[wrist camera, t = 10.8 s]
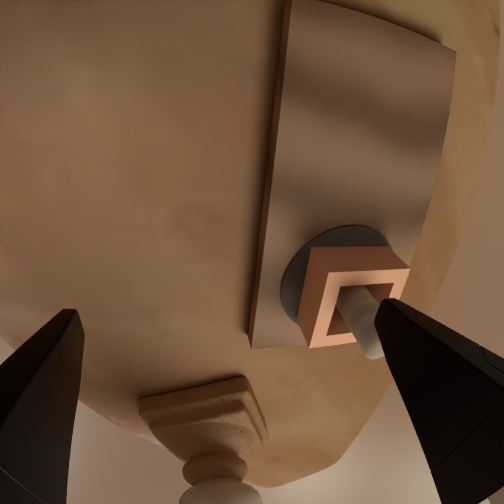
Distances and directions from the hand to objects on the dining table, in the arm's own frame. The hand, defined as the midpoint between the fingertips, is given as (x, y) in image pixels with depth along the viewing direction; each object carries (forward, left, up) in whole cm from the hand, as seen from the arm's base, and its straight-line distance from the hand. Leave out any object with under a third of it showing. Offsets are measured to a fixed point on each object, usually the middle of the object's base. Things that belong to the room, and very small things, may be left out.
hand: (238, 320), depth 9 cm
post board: (-8, +5, -12) cm, 15 cm away
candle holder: (+12, +21, -12) cm, 27 cm away
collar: (-5, +10, -10) cm, 15 cm away
